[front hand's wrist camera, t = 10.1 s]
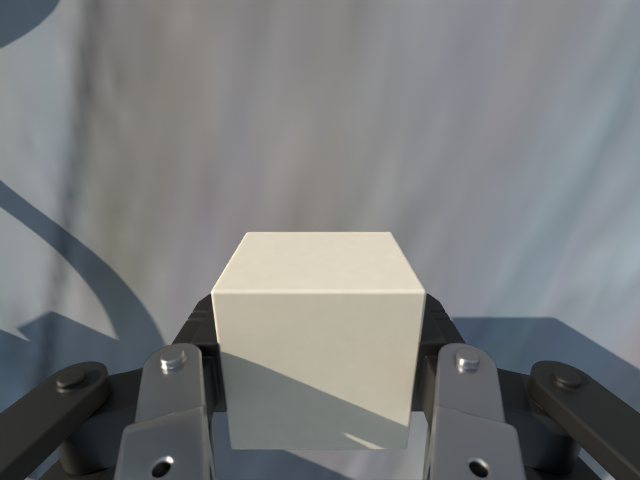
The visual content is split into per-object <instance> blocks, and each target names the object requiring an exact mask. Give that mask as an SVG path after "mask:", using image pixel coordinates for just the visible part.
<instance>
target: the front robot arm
mask: <svg viewBox="0 0 640 480" xmlns="http://www.w3.org/2000/svg"><path fill="white" fill-rule="evenodd" d="M226 411H227V409H226V401H225V393H224V385H223V378H222V370H221V362H220V354H219V347H218V342H217V334H216V327H215V319H214V311H213V304H212V296H211V294H209V295H208V296H206V297H205V298H203V299H202V300H201V301H199V302H198V304H197V305H196V307H195V308H194V310H193V313H191V315H190V316H189V318H188V321H186V323H185V324H184V326H183V327H182V329H181V330H180V332H179V334H178V335H177V337H176V338H175V340H174V341H173V343H172V344H171V345H168V346H165V347H163V348H161V349H159V350H157V351H156V352H154V353H153V354H152V355H150V356H149V357H148V359H147V360H146V361H145V363H144V366H143V368H140V369H137V370H133V371H129V372H124V373H120V374H115V375H111V376H109V375H108V371H107V368H106V366H105V365H103V364H102V363H99V362H83V363H78V364H75V365H72V366H69V367H66V368H64V369H62V370H60V371H58V372H57V373H55V374H53V375H52V376H50V377H49V378H48V379H46V380H45V381H44V382H42V383H41V384H40V385H38V386H37V387H36V388H34V389H33V390H32V391H30V392H29V393H27V394H26V395H25V396H23V397H22V398H21V399H19V400H18V401H17V402H15V403H14V404H13V405H11V406H10V407H9V408H7V409H6V410H5V411H3V412H2V413H1V414H0V480H24V479H25V478H26V477H27V476H28V475H30V474H31V473H32V472H33V471H34V470H35V469H36V468H37V467H38V466H39V465H40V464H41V463H42V462H43V461H44V460H45V459H46V458H47V457H48V456H49V455H50V454H51V453H52V452H53V451H54V450H55V449H56V452H57V454H58V457H59V460H58V461H57V462H56V463H55V464H54V465H53V466H52V467H51V468H50V469H49V470H48V471H47V472H46V473H45V474H44V475H43V476H42V477H41V478H40V479H39V480H217V468H216V457H215V446H214V435H213V427H212V420H211V419H212V416H213V413H214V412H226ZM411 411H424V414H425V417H426V420H427V422H428V427H427V435H426V446H425V457H424V468H423V479H422V480H601V479H600V478H599V477H598V476H597V475H596V474H595V473H594V472H593V471H592V470H591V469H590V468H589V467H588V466H587V465H586V464H585V463H584V462H583V461H582V460H581V459H580V458H579V457H578V455H579V452H580V449H581V447H582V448H584V449H585V450H586V451H587V452H588V453H589V454H590V455H591V456H592V457H593V458H594V459H595V460H596V461H597V462H598V463H599V464H600V465H601V466H602V467H603V468H604V469H605V470H606V471H607V472H608V473H609V474H610V475H611V476H613V477H614V478H615V479H616V480H640V414H639V413H638V412H637V411H635V410H634V409H633V408H631V407H630V406H629V405H627V404H626V403H625V402H623V401H622V400H621V399H619V398H618V397H617V396H615V395H614V394H613V393H611V392H610V391H608V390H607V389H606V388H604V387H603V386H602V385H600V384H599V383H598V382H596V381H595V380H594V379H592V378H591V377H590V376H588V375H587V374H585V373H584V372H582V371H580V370H579V369H577V368H574V367H572V366H570V365H567V364H564V363H560V362H556V361H540V362H537V363H535V364H534V365H533V367H532V369H531V373H530V375H525V374H520V373H516V372H511V371H507V370H503V369H499V368H497V366H496V363H495V361H494V360H493V359H492V357H491V356H490V355H488V354H487V353H486V352H484V351H483V350H481V349H479V348H477V347H475V346H472V345H468V344H466V343H465V342H464V340H463V338H462V337H461V335H460V334H459V332H458V330H457V329H456V327H455V326H454V324H453V323H452V321H451V320H450V318H449V316H448V315H447V313H445V310H444V308H443V307H442V305H441V303H440V302H439V301H438V300H436V299H435V298H434V297H432V296H431V295H429V294H426V302H425V310H424V318H423V326H422V334H421V341H420V344H419V352H418V360H417V368H416V376H415V384H414V392H413V399H412V407H411Z"/></svg>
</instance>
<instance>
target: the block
mask: <svg viewBox="0 0 640 480" xmlns="http://www.w3.org/2000/svg"><path fill="white" fill-rule="evenodd" d="M426 294H427V292H426V290H425V288H424V286H423V284H422V283H421V281H420V279H419V278H418V276H417V274H416V273H415V271H414V269H413V268H412V266H411V264H410V263H409V261H408V259H407V258H406V256H405V254H404V253H403V251H402V249H401V248H400V246H399V244H398V243H397V241H396V239H395V238H394V236H393V234H392V233H391V232H248V233H246V235H245V236H244V238H243V240H242V241H241V243H240V245H239V246H238V248H237V250H236V251H235V253H234V255H233V256H232V258H231V259H230V261H229V263H228V264H227V266H226V268H225V269H224V271H223V273H222V274H221V276H220V278H219V279H218V281H217V283H216V284H215V286H214V288H213V289H212V292H211V296H212V304H213V311H214V319H215V327H216V334H217V342H218V347H219V354H220V362H221V370H222V378H223V385H224V393H225V401H226V409H227V411H226V412H227V419H228V427H229V435H230V442H231V448H232V449H234V450H340V449H406V448H407V443H408V436H409V428H410V420H411V412H412V411H411V407H412V399H413V392H414V384H415V376H416V368H417V360H418V352H419V344H420V341H421V334H422V326H423V318H424V310H425V302H426Z"/></svg>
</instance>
